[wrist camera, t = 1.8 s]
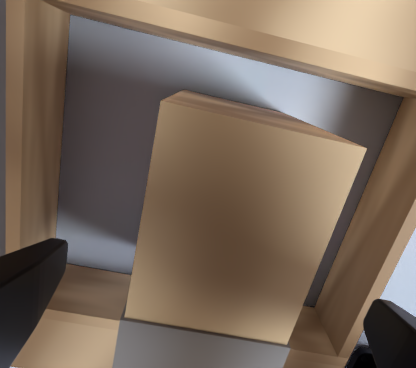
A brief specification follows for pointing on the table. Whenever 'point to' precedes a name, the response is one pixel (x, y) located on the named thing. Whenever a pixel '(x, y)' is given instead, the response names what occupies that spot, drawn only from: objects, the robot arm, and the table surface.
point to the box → (230, 234)
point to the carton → (240, 46)
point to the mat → (2, 127)
